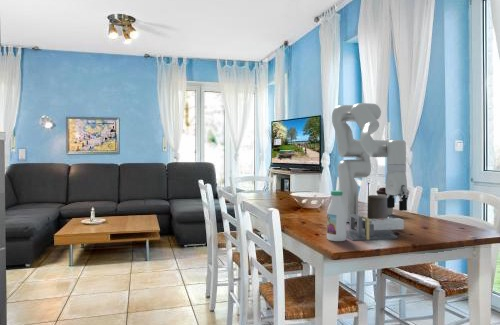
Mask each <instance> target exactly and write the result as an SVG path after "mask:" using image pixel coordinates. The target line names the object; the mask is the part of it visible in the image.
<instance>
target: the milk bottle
mask: <svg viewBox="0 0 500 325" xmlns="http://www.w3.org/2000/svg"><path fill="white" fill-rule="evenodd" d="M342 195H343V192H342V191H339V190H331V191H330V197H331V200H330V201H329V202H330V203H329V205H328V206H327V210H326V211H327V212H326V213H327V214H326V239H327V240H328V241H331V242H345V241H346V240H347V237H346V231H347V222H346V209H345V206H344V204H343V201H342Z"/></svg>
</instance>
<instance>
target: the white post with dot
mask: <svg viewBox="0 0 500 325" xmlns="http://www.w3.org/2000/svg"><path fill="white" fill-rule="evenodd" d="M404 220H405V219H403V218H400V217H393V218H391V217H390V218H389V217H388V218H384V219H369V224H374V230H390V231H392V230H405V229H404V228H405V227H404V224H405V221H404Z"/></svg>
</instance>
